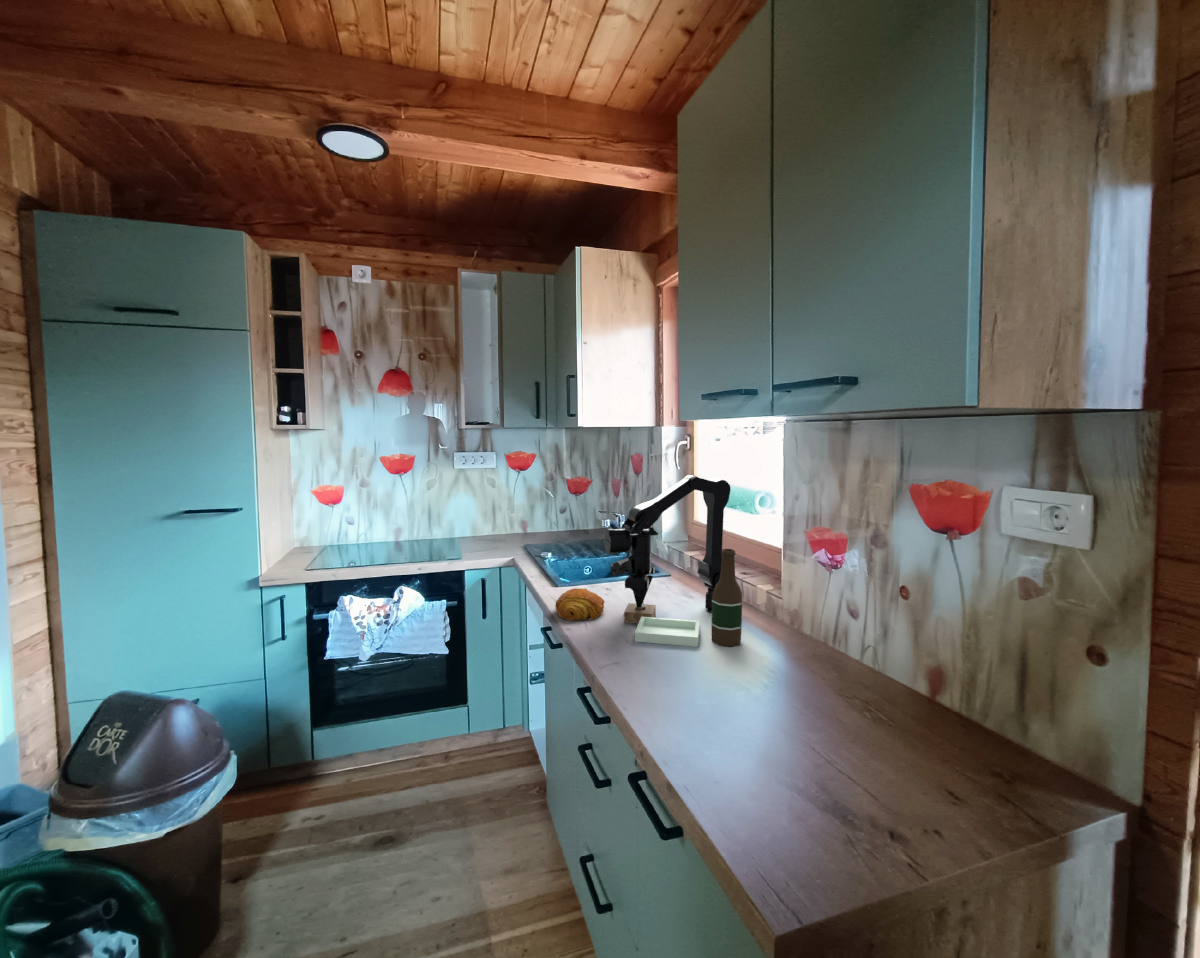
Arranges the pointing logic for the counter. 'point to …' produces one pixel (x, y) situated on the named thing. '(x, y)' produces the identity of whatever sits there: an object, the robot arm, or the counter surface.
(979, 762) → the counter surface
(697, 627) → the tray
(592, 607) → the croissant
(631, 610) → the block
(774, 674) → the counter surface
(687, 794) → the counter surface
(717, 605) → the beer bottle
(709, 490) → the robot arm
